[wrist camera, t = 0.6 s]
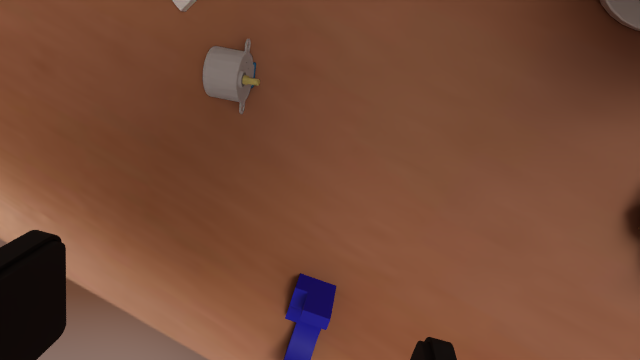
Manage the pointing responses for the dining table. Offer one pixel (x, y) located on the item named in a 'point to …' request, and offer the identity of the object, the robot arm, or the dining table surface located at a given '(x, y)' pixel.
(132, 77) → the dining table surface
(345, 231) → the dining table surface
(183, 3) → the mounting board
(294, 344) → the cable clip
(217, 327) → the dining table surface
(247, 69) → the electric motor
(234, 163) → the dining table surface
